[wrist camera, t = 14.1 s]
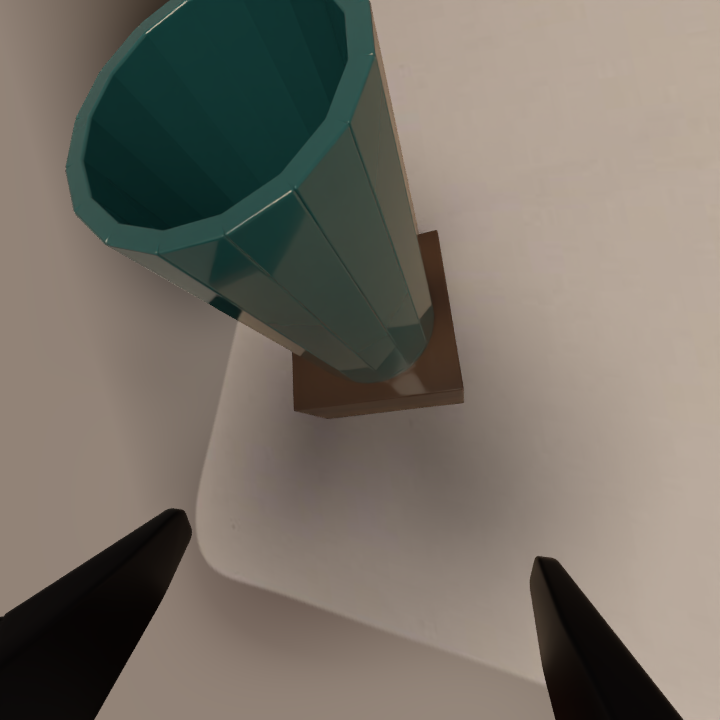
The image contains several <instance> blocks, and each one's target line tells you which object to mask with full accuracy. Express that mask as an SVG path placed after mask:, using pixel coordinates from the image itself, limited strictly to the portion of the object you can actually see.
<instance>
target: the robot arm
mask: <svg viewBox="0 0 720 720" xmlns="http://www.w3.org/2000/svg"><path fill="white" fill-rule="evenodd" d="M191 536H192V529H191V526H190V523H189V521H188V518H187V515H186V513H185V511H184V510H181V509H174V508H171V509H167V510H165V511H164V512H162V513H161V514H159V515H158V516H156V517H155V518H153V519H152V520H150V521H149V522H147V523H145V524H144V525H143V526H141V527H139V528H138V529H136V530H134V531H133V532H132V533H130V534H129V535H127V536H125V537H124V538H122V539H121V540H119V541H118V542H116V543H114V544H113V545H111V546H110V547H108V548H107V549H105V550H104V551H102V552H100V553H99V554H97V555H96V556H94V557H93V558H91V559H90V560H88V561H86V562H85V563H83V564H82V565H80V566H79V567H77V568H76V569H74V570H73V571H71V572H69V573H68V574H66V575H65V576H63V577H62V578H60V579H59V580H57V581H56V582H54V583H53V584H51V585H49V586H48V587H46V588H45V589H43V590H42V591H40V592H39V593H37V594H35V595H34V596H32V597H31V598H30V599H28V600H26V601H25V602H23V603H22V604H20V605H18V606H17V607H15V608H14V609H12V610H11V611H9V612H8V613H6V614H5V616H4V617H0V720H94V719H95V717H96V716H97V714H98V712H99V710H100V709H101V707H102V705H103V703H104V701H105V700H106V698H107V696H108V694H109V693H110V691H111V689H112V687H113V686H114V684H115V682H116V680H117V679H118V677H119V675H120V673H121V672H122V670H123V668H124V666H125V665H126V663H127V661H128V659H129V657H130V656H131V654H132V652H133V650H134V649H135V647H136V645H137V643H138V642H139V640H140V638H141V636H142V635H143V633H144V631H145V629H146V628H147V626H148V624H149V622H150V621H151V619H152V617H153V615H154V614H155V612H156V610H157V608H158V606H159V604H160V603H161V601H162V599H163V597H164V595H165V593H166V591H167V589H168V587H169V585H170V583H171V580H172V578H173V576H174V574H175V572H176V570H177V567H178V565H179V563H180V561H181V558H182V556H183V554H184V552H185V550H186V548H187V546H188V544H189V541H190V539H191ZM530 592H531V598H532V604H533V611H534V617H535V624H536V630H537V636H538V643H539V649H540V655H541V661H542V667H543V672H544V676H545V680H546V685H547V689H548V692H549V696H550V700H551V704H552V708H553V712H554V716H555V719H556V720H683V719H682V717H681V716H680V715H679V713H678V712H677V711H676V710H675V708H674V707H673V706H672V705H671V703H670V702H669V701H668V700H667V698H666V697H665V696H664V695H663V693H662V692H661V691H660V689H659V688H658V687H657V686H656V684H655V683H654V682H653V681H652V679H651V678H650V677H649V676H648V674H647V673H646V672H645V670H644V669H643V668H642V667H641V665H640V664H639V663H638V662H637V660H636V659H635V658H634V657H633V655H632V654H631V653H630V651H629V650H628V649H627V648H626V646H625V645H624V644H623V643H622V641H621V640H620V639H619V638H618V636H617V635H616V634H615V632H614V631H613V630H612V629H611V627H610V626H609V625H608V624H607V622H606V621H605V620H604V619H603V617H602V616H601V615H600V613H599V612H598V611H597V610H596V608H595V607H594V606H593V605H592V603H591V602H590V601H589V600H588V598H587V597H586V596H585V594H584V593H583V592H582V591H581V589H580V588H579V587H578V586H577V584H576V583H575V582H574V581H573V579H572V578H571V577H570V575H569V574H568V573H567V572H566V570H565V569H564V568H563V567H562V565H561V564H560V563H559V562H558V561H557V560H556V559H554V558H549V557H542V556H537V557H536V558H535V560H534V564H533V568H532V572H531V576H530Z"/></svg>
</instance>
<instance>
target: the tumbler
mask: <svg viewBox="0 0 720 720" xmlns="http://www.w3.org/2000/svg"><path fill="white" fill-rule="evenodd" d="M66 176H67V181H68V185H69V190H70V195H71V200H72V205H73V210H74V212H75V214H76V215H77V217H78V218H79V219H80V220H81V221H82V222H83V223H84V224H85V225H86V226H87V227H88V228H89V229H90V230H91V231H92V232H93V233H94V234H95V235H96V236H97V237H98V238H99V239H100V240H101V241H102V242H103V243H104V244H105V245H107V246H108V247H110V248H112V249H114V250H115V251H117V252H119V253H121V254H122V255H124V256H126V257H128V258H129V259H131V260H133V261H135V262H136V263H138V264H140V265H142V266H143V267H145V268H147V269H149V270H150V271H152V272H154V273H156V274H157V275H159V276H161V277H163V278H164V279H166V280H168V281H170V282H171V283H173V284H175V285H176V286H178V287H180V288H182V289H183V290H185V291H187V292H189V293H190V294H192V295H194V296H196V297H197V298H199V299H201V300H203V301H204V302H206V303H208V304H210V305H211V306H213V307H215V308H217V309H218V310H220V311H222V312H224V313H225V314H227V315H229V316H231V317H232V318H234V319H236V320H238V321H239V322H241V323H243V324H244V325H246V326H248V327H250V328H251V329H253V330H255V331H257V332H258V333H260V334H262V335H264V336H265V337H267V338H269V339H271V340H272V341H274V342H276V343H278V344H279V345H281V346H283V347H285V348H286V349H288V350H290V351H292V352H293V353H295V354H297V355H299V356H300V357H302V358H304V359H306V360H307V361H309V362H311V363H312V364H314V365H316V366H318V367H319V368H321V369H323V370H325V371H326V372H328V373H330V374H332V375H334V376H336V377H339V378H341V379H344V380H347V381H350V382H354V383H363V384H369V383H378V382H383V381H386V380H389V379H391V378H394V377H396V376H398V375H400V374H401V373H403V372H404V371H406V370H407V369H408V368H410V367H411V366H412V365H413V364H414V363H415V362H416V361H417V360H418V359H419V358H420V356H421V355H422V353H423V352H424V351H425V349H426V347H427V345H428V343H429V341H430V338H431V336H432V332H433V327H434V318H435V315H434V306H433V300H432V293H431V288H430V283H429V279H428V274H427V269H426V264H425V260H424V255H423V250H422V245H421V240H420V236H419V231H418V226H417V221H416V217H415V212H414V207H413V202H412V198H411V193H410V188H409V183H408V179H407V174H406V169H405V164H404V160H403V155H402V150H401V145H400V141H399V136H398V131H397V126H396V122H395V117H394V112H393V107H392V103H391V98H390V93H389V88H388V84H387V79H386V74H385V69H384V64H383V60H382V55H381V50H380V45H379V41H378V36H377V31H376V26H375V22H374V17H373V12H372V7H371V3H370V1H369V0H170V1H169V2H167V3H166V4H165V5H163V6H162V7H161V8H160V9H159V10H157V11H156V12H155V13H153V14H152V15H151V16H150V17H149V18H147V19H146V20H145V21H143V22H142V23H141V24H140V25H139V27H137V28H136V29H135V30H134V31H133V32H132V34H131V35H130V36H129V37H128V38H127V40H126V41H125V42H124V43H123V44H122V45H121V47H120V48H119V49H118V50H117V52H116V53H115V54H114V55H113V56H112V58H111V59H110V60H109V61H108V62H107V63H106V65H105V66H104V67H103V68H102V71H100V72H99V74H98V76H97V78H96V80H95V82H94V84H93V86H92V88H91V90H90V92H89V94H88V96H87V97H86V100H85V101H84V103H83V105H82V107H81V109H80V111H79V113H78V115H77V117H76V121H75V123H74V128H73V133H72V138H71V143H70V148H69V153H68V158H67V163H66Z"/></svg>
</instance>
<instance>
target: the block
mask: <svg viewBox="0 0 720 720" xmlns="http://www.w3.org/2000/svg"><path fill="white" fill-rule="evenodd" d="M419 236H420V240H421V245H422V250H423V255H424V260H425V264H426V269H427V274H428V279H429V283H430V288H431V293H432V300H433V306H434V315H435V318H434V327H433V332H432V336H431V338H430V341H429V343H428V345H427V347H426V349H425V351H424V352H423V353H422V355H421V356H420V358H419V359H418V360H417V361H416V362H415V363H414V364H413V365H412V366H411V367H410V368H408V369H407V370H406V371H404V372H403V373H401V374H400V375H398V376H396V377H394V378H391V379H389V380H386V381H383V382H378V383H369V384H363V383H354V382H350V381H347V380H344V379H341V378H339V377H336V376H334V375H332V374H330V373H328V372H326V371H325V370H323V369H321V368H319V367H318V366H316V365H314V364H312V363H311V362H309V361H307V360H306V359H304V358H302V357H300V356H299V355H297V354H295V353H293V352H292V361H293V397H294V411H296V412H301V413H305V414H309V415H314V416H318V417H322V418H326V419H331V418H339V417H348V416H356V415H365V414H373V413H382V412H390V411H399V410H407V409H416V408H424V407H433V406H441V405H450V404H458V403H463V402H464V388H463V382H462V376H461V370H460V364H459V358H458V352H457V346H456V339H455V333H454V327H453V321H452V315H451V309H450V303H449V297H448V291H447V285H446V279H445V273H444V267H443V261H442V255H441V249H440V243H439V237H438V231H437V230H435V231H431V232H427V233H422V234H419Z"/></svg>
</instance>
